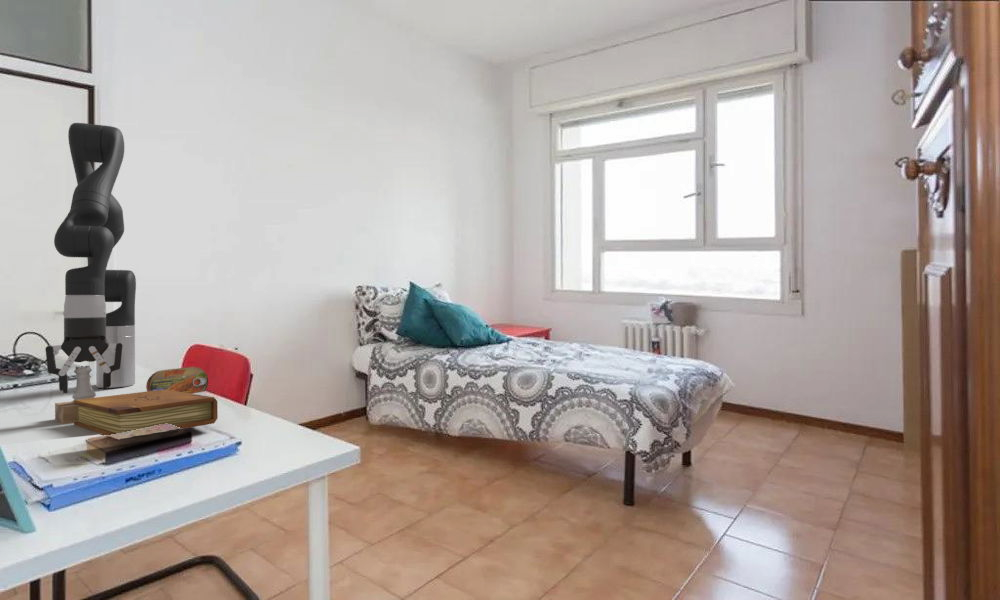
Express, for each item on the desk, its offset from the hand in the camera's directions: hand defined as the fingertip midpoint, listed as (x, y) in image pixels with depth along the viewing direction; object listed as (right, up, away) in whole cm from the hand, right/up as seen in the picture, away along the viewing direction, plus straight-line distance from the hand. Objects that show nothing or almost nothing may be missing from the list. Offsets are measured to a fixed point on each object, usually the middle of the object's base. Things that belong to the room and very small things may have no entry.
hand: (85, 391), depth 125 cm
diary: (+16, -7, -5) cm, 18 cm away
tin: (+5, -7, +26) cm, 28 cm away
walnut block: (-1, -7, 0) cm, 7 cm away
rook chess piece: (0, -3, 0) cm, 3 cm away
